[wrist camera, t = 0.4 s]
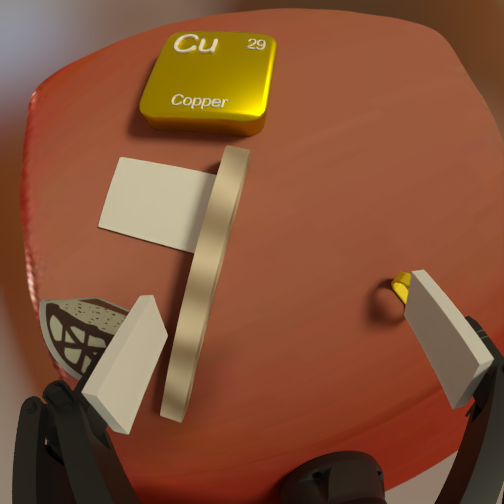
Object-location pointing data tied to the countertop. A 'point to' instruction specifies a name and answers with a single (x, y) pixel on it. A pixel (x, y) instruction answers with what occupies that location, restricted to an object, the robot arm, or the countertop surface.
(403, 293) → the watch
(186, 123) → the element tile
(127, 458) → the countertop surface
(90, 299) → the food container
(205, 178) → the plate
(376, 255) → the countertop surface
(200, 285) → the maple straightedge
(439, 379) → the robot arm
